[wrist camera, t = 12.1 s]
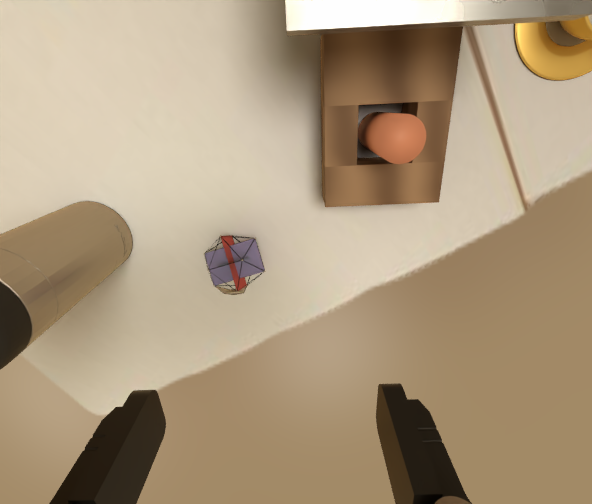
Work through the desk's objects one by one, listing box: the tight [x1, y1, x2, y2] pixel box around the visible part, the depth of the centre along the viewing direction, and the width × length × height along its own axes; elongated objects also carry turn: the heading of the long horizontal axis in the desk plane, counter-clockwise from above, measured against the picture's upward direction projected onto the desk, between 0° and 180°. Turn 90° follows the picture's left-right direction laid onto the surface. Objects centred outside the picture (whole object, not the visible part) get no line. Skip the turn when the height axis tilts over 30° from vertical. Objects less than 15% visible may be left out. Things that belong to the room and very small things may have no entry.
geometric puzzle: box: [204, 235, 266, 295], centre depth 39 cm, size 7×7×8 cm
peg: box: [358, 112, 426, 164], centre depth 32 cm, size 4×4×10 cm
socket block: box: [320, 26, 463, 207], centre depth 33 cm, size 12×16×5 cm
